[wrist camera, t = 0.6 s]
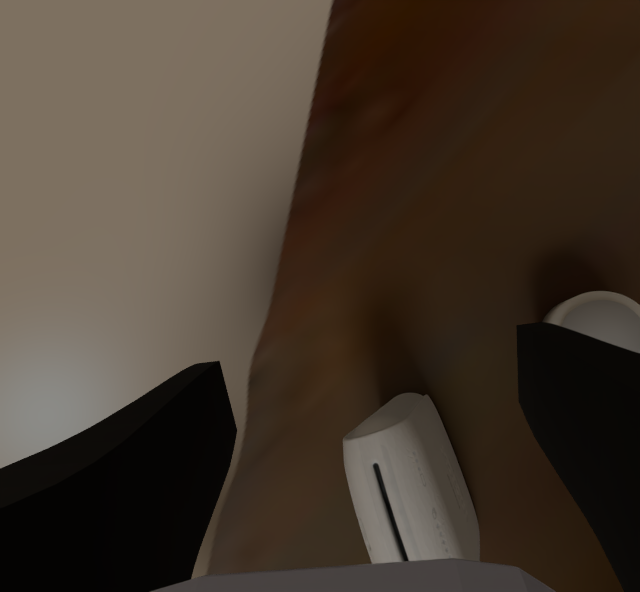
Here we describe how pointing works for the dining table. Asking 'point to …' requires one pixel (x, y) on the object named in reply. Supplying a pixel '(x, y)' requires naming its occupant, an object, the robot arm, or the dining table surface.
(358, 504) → the photo printer
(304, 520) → the dining table surface
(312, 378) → the dining table surface
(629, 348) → the white round cylinder
